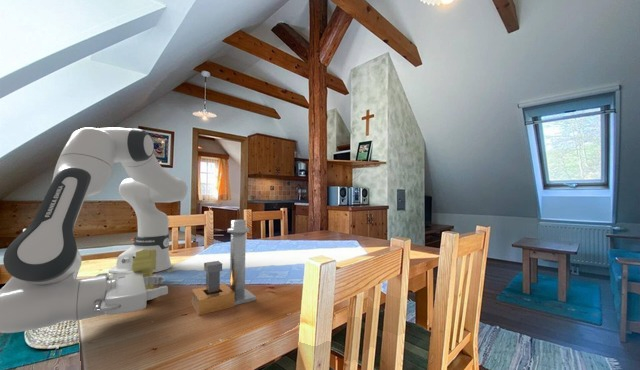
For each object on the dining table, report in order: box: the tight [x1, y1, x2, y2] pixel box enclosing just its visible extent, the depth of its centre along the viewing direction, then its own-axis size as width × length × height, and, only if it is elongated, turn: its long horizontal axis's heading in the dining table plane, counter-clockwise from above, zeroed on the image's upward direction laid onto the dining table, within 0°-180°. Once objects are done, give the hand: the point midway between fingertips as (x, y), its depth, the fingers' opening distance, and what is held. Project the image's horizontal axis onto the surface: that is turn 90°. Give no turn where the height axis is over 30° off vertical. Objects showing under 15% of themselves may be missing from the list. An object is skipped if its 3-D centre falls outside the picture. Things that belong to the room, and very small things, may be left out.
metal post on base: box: [190, 219, 257, 316], centre depth 79 cm, size 16×10×24 cm, turn 127°
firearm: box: [132, 249, 156, 290], centre depth 85 cm, size 4×30×15 cm, turn 28°
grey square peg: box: [203, 260, 223, 295], centre depth 76 cm, size 4×4×12 cm
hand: (165, 284), depth 69 cm, fingers open, 8 cm apart
